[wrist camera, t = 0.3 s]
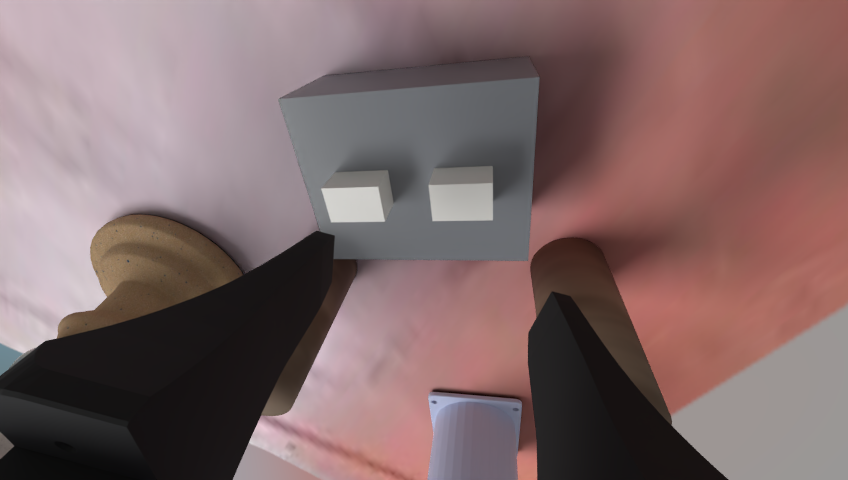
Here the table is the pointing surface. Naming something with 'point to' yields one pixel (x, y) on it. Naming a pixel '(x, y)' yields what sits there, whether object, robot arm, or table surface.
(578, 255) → the walnut post
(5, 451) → the candle holder
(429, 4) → the table surface
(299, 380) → the walnut post
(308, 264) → the robot arm
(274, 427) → the table surface
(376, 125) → the block
